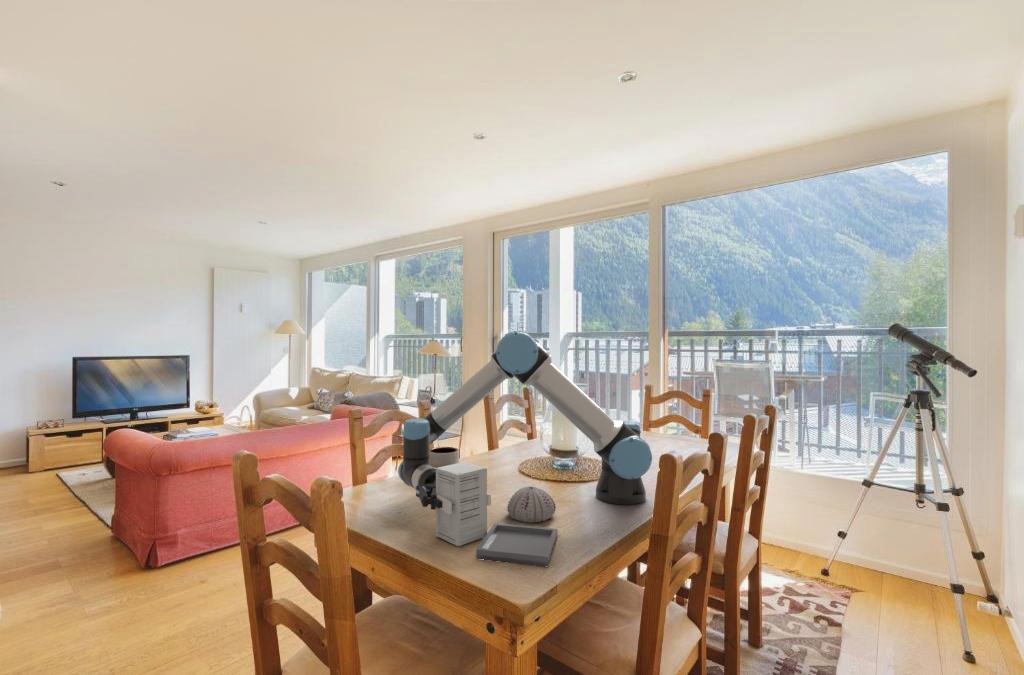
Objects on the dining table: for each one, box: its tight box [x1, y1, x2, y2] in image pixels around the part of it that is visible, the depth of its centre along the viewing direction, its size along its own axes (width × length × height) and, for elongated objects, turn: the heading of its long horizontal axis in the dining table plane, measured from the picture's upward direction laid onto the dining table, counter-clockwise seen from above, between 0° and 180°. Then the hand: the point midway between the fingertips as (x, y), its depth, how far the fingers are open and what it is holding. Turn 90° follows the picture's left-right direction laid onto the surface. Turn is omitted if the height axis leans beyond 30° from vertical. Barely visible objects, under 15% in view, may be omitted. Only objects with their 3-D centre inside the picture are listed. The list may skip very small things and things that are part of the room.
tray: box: [475, 522, 559, 567], centre depth 115 cm, size 16×16×2 cm
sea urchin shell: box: [506, 485, 557, 524], centre depth 136 cm, size 13×14×8 cm
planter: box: [429, 446, 460, 468], centre depth 174 cm, size 11×11×10 cm
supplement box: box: [435, 461, 488, 547], centre depth 121 cm, size 10×9×17 cm
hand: (470, 504), depth 118 cm, fingers closed on supplement box, 10 cm apart
